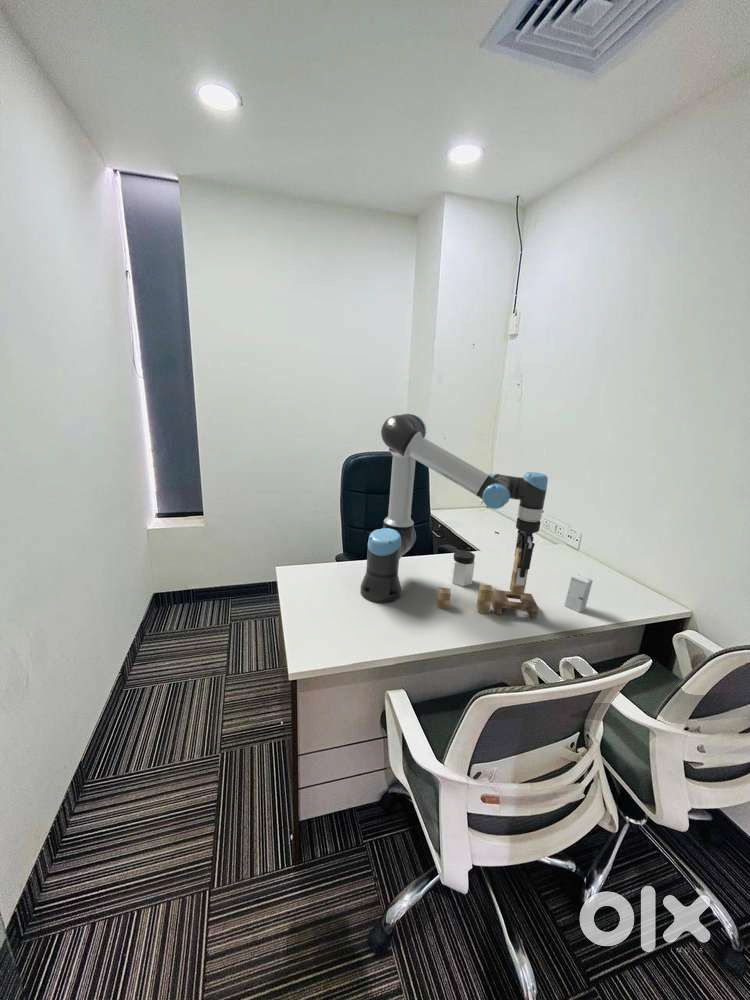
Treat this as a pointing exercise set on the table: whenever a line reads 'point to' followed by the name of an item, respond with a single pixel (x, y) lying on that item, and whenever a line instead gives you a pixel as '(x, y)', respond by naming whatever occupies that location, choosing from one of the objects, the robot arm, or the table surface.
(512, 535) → the table surface
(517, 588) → the peg long
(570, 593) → the skincare box
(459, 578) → the jar
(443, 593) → the peg short
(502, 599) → the bridge
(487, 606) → the peg mid
